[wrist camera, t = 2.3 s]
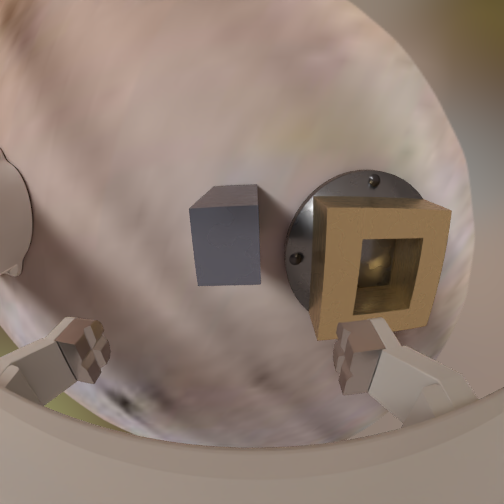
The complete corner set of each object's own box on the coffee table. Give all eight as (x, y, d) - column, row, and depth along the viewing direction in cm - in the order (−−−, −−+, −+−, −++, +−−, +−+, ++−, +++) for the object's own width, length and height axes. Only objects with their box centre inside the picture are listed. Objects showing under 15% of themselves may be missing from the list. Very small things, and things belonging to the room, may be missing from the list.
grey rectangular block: (217, 237, 27) (198, 285, 17) (213, 186, 25) (188, 208, 16) (258, 236, 27) (260, 284, 17) (256, 184, 25) (258, 205, 15)
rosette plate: (283, 324, 30) (289, 362, 24) (283, 167, 24) (293, 173, 18) (413, 312, 30) (436, 340, 24) (435, 175, 24) (471, 185, 18)
